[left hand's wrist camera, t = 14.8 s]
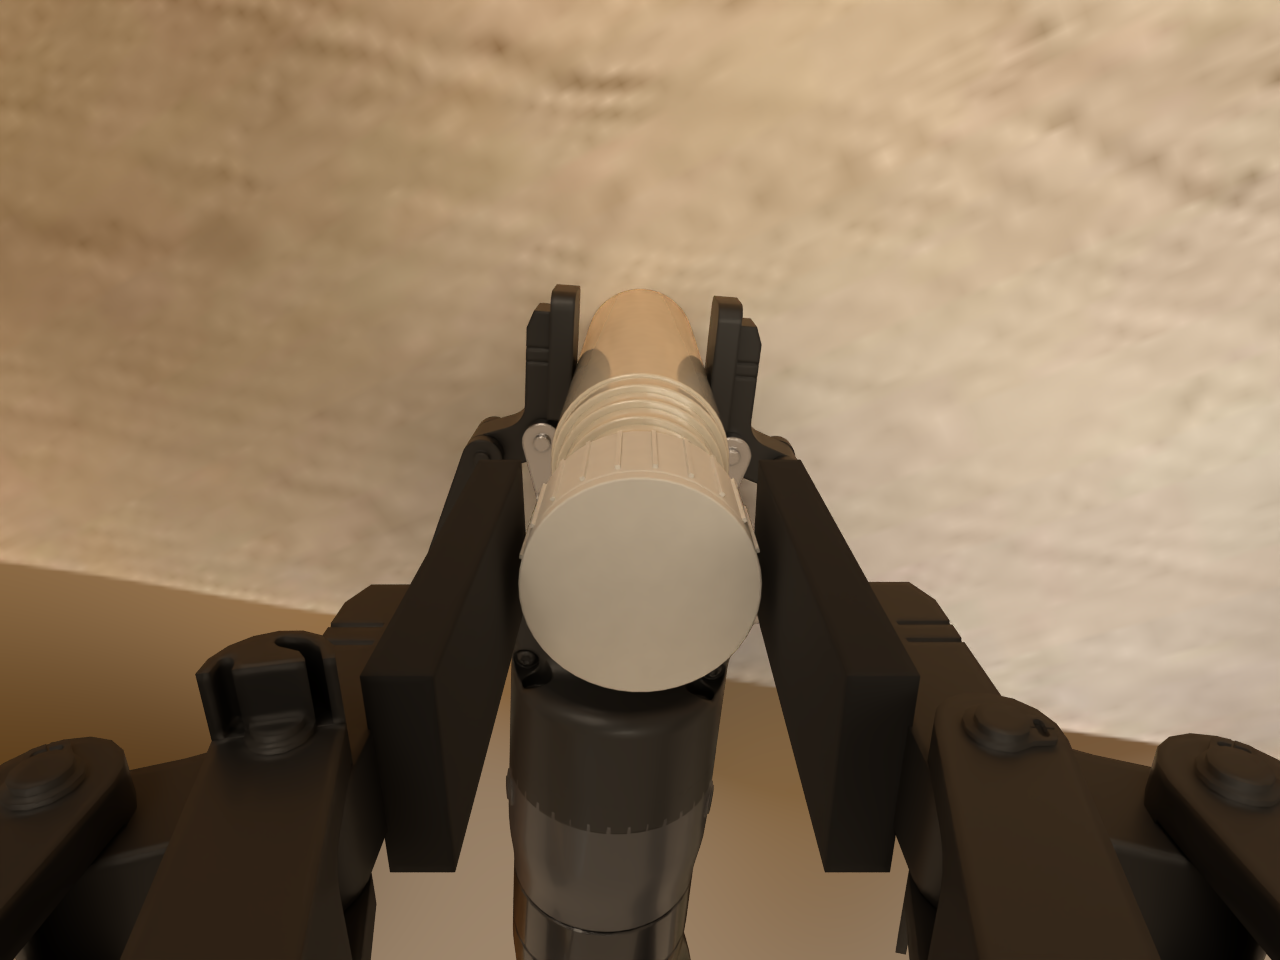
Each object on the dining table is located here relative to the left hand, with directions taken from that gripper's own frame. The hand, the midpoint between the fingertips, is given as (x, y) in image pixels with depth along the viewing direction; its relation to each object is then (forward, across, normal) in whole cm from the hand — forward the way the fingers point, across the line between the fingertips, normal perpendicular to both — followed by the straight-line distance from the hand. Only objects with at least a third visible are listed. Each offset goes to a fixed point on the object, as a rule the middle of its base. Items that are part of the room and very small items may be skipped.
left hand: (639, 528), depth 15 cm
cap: (-2, 0, 0) cm, 2 cm away
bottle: (+17, 0, 0) cm, 17 cm away
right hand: (+10, 0, -3) cm, 11 cm away
